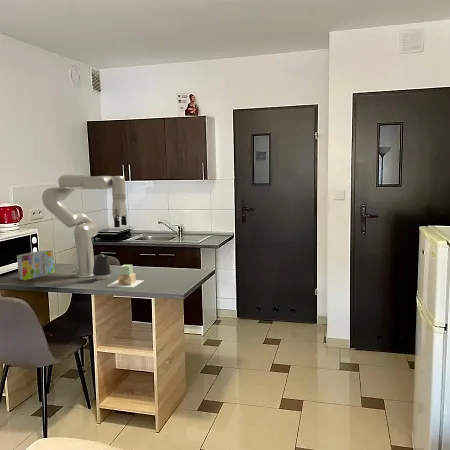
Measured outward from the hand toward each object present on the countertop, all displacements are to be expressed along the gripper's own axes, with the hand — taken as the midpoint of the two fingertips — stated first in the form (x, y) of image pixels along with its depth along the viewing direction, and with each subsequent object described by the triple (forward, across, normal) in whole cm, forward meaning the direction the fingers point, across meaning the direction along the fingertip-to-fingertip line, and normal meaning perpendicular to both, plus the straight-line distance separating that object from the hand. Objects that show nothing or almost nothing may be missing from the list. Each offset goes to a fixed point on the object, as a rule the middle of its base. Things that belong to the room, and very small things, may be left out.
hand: (120, 226), depth 272 cm
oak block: (+29, +20, +11) cm, 37 cm away
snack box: (+31, +5, -54) cm, 62 cm away
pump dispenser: (+31, +9, -9) cm, 33 cm away
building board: (+30, +20, +10) cm, 37 cm away
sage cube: (+24, +20, +11) cm, 33 cm away
